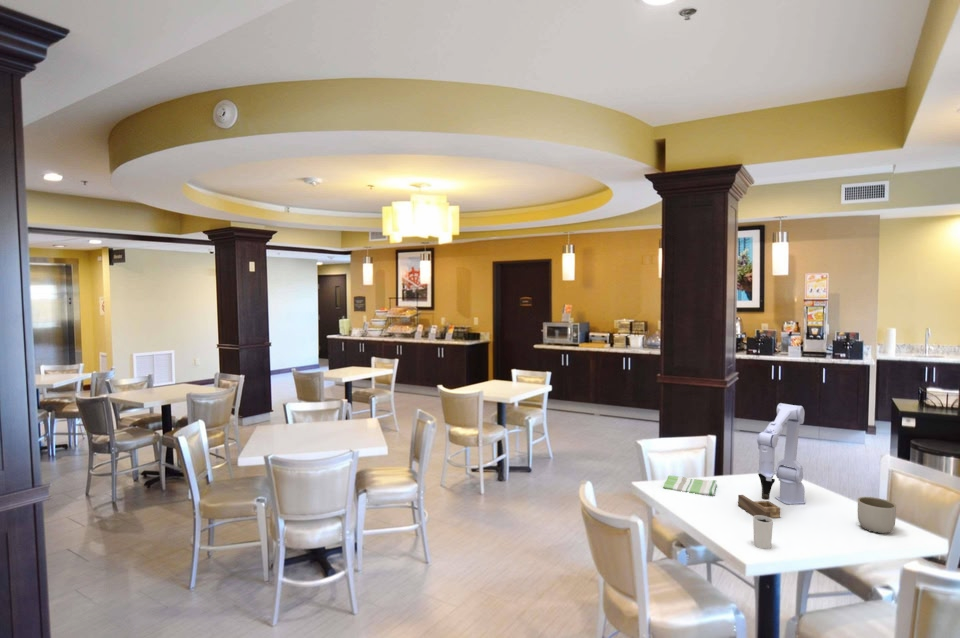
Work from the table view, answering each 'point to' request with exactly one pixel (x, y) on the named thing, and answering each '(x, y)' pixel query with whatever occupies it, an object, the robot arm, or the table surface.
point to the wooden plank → (751, 506)
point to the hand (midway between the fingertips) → (765, 492)
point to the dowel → (765, 495)
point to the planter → (876, 514)
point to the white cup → (762, 531)
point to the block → (770, 508)
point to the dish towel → (691, 485)
